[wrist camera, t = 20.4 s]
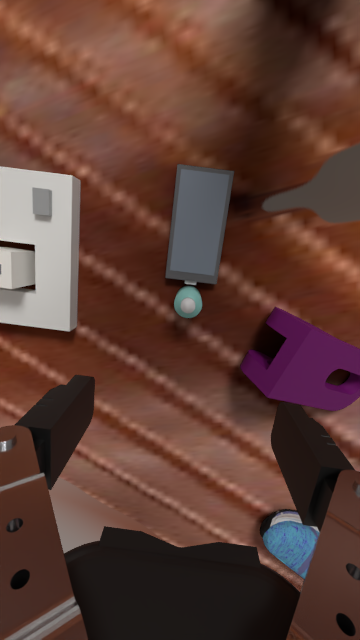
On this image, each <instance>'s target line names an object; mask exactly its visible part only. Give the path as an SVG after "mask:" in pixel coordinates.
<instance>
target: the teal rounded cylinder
mask: <svg viewBox="0 0 360 640" xmlns="http://www.w3.org/2000/svg"><path fill="white" fill-rule="evenodd" d="M174 307H175V310H176V312H177V313H178V314H179V315H180V316H182V317H184V318H192V317H195V316H196V315H198V314H199V312H200V311H201V308H202V300H201V295H200V292H199V291H198V289H197V288H195V287H194V286H189V285H188V286H184V287H182V288H180V289H179V291H178V292H177V295H176V298H175V301H174Z"/></svg>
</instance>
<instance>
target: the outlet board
mask: <svg viewBox="0 0 360 640" xmlns="http://www.w3.org/2000/svg"><path fill="white" fill-rule="evenodd" d="M80 182H81V181H80V180H79V179H77V178H75V177H74V176H72V175H64V174H56V173H48V172H40V171H32V170H24V169H16V168H8V167H0V240H1V241H9V242H17V243H25V244H33V245H35V282H36V290H32V289H24V288H15V289H7V288H1V287H0V323H8V324H16V325H23V326H31V327H39V328H47V329H54V330H62V331H71V330H73V329H74V328H76V327H77V302H78V262H79V222H80Z"/></svg>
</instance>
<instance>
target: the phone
mask: <svg viewBox="0 0 360 640" xmlns="http://www.w3.org/2000/svg"><path fill="white" fill-rule="evenodd" d="M233 175H234V171H229V170H221V169H213V168H205V167H197V166H189V165H180V164H178V166H177V175H176V184H175V194H174V203H173V212H172V221H171V231H170V240H169V249H168V259H167V268H166V277H165V278H171V279H179V280H185V284H191V285H196V283H197V282H202V283H210V284H217V277H218V271H219V265H220V258H221V252H222V245H223V239H224V233H225V226H226V220H227V213H228V207H229V201H230V194H231V188H232V182H233Z"/></svg>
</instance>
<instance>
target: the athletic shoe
mask: <svg viewBox="0 0 360 640" xmlns="http://www.w3.org/2000/svg"><path fill="white" fill-rule="evenodd" d="M319 533H320V532H319V530H318V528H317V527H314V526H306V525H303V524H302V521H301V519H300V516H299V514H298V511H295V510H294V511H293V510H290V509H289V510H287V509H285V510H280V511H277V512H275V513H273V514H272V515H270V516H269V517H268V518H266V519H265V520H264V521H263V522H262V524H261V527H260V535H261V536H262V538H263V541H264V545H265V546H266V547H267V549H268V550H269V552H270V553H272V554H273V555H274V556H275V557H277V558H278V559H279V560H280V561H282V562H283V563H284V564H285V565H287V566H288V567H289V568H290V569H292V570H293V571H294V572H295V573H297V574H298V575H300V576H301V577H302V578H303V579H305V575H306V572H307V569H308V566H309V563H310V560H311V557H312V554H313V551H314V548H315V545H316V542H317V539H318V536H319Z"/></svg>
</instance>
